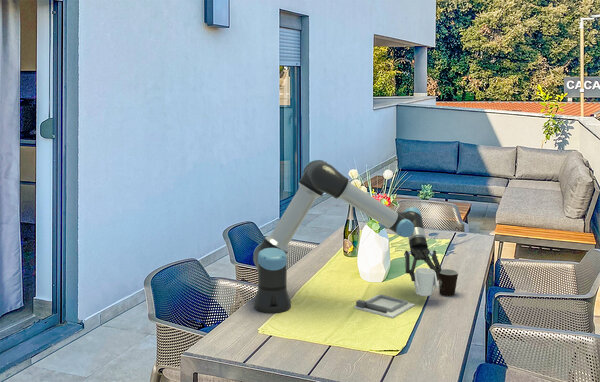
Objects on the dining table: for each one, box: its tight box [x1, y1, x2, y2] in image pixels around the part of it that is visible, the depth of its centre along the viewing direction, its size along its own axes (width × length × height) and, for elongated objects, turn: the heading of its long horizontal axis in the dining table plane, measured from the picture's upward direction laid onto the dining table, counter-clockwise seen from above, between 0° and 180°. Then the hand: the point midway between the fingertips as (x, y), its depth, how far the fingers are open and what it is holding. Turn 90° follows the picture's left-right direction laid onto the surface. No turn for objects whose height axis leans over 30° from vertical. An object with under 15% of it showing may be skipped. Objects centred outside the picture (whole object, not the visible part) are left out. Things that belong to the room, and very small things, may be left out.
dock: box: [353, 294, 416, 319], centre depth 258 cm, size 18×18×3 cm
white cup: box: [415, 267, 435, 297], centre depth 262 cm, size 8×8×10 cm
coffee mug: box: [438, 268, 459, 297], centre depth 276 cm, size 12×9×10 cm
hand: (426, 287), depth 259 cm, fingers closed on white cup, 8 cm apart
